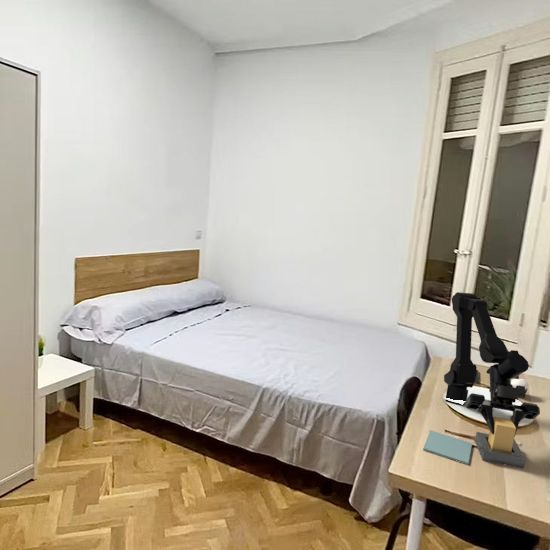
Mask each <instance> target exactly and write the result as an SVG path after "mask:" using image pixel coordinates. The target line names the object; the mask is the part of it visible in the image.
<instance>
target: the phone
mask: <svg viewBox="0 0 550 550" xmlns="http://www.w3.org/2000/svg"><path fill="white" fill-rule="evenodd" d="M476 375H477V377H476V380H475V382H474V384H477V385H478V384H479V383H480V378H479V377H480V376H479V369H476Z"/></svg>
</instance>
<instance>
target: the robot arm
mask: <svg viewBox="0 0 550 550" xmlns="http://www.w3.org/2000/svg"><path fill="white" fill-rule="evenodd" d="M451 305H452V311H453V312H454V314H455V316H456V336H455V337H456V339H455V340H456V341H455V345H456V347H455V357H454V359H453V361H452V362H451V364H450V368H449V371H447V372H446V373H445V374H444V376H443V382H444V383H445V384H446V385H447V389H446V394H445V397H446V398H450V399H453V400H463V401H466V403H465V408H466V409H471V410H474V411H475V410H476V411H477V413H478V414H480V415H481V416H482V418H483V419H484V421H485V422H486V424H487V426H488V427H487V428H488V429H489V432H490V431H491V433H492V434H494V420H493V417H494V409H496V410H497V409H498V410H503V411H509V412H512V415H511V416H510V420H512V422H513V424H514V425H515V427H516V432H515V436H516V434H517V431H518V429H519V428H518V427H519V424H520V423H521V421H522V420H524V419H525V420H526V419H527V420H535V419H536V418H537V417H538V416H539V415H540V414H541V410H540V407H539V405H538V404H536V403H531V402H524V401H523V403H522V404H521V405H517V404H515V403H516V400H519V398H521V399H524V398H526V394H527V392H526V391H525V386H516V388H514V387H513V386H512V385H511V379H512V380H513V379H514V378H515V377H517V376H519V377H520V375H522V374H523V373H525V372H526V371H528V370H529V366H530V365H529V361H528V360H527V359H526V357H524V356H523V355H522V354H520V353H519V351H518V350H512V349H511V350H510V351H509V350H508V348H507V345H506V344H505V342H504V341H503V340H502V339H501V338H500V337H499V336H498V335H497V333H496V329H495V327H494V324H493V320H492V318H491V316H490V312H489V309H488V302H487V301H486V300H484V299H483V298H482V297H478V296H477V295H476V294H475V293H471V292H455V294H454V295H452V296H451ZM473 320H474V324H475V327H476V329H477V333H478V336H479V339H480V344H479V346H478V351H479V356H480V359H481V360H482V362H484V363H486V364H493V365H490V366H489V368H488V369H487V370H486V374H489V391H488V392H489V393H490V399H486V396H485V395H484V394H480V393H479V394H478V393H470V394H469V389H468V388H473V386H474V385H475V383H474V382H475V380H476V377H477V375H476V370H478V369H477V365H476V364H474V363H473V360H472V359H471V357H472V326H473ZM513 403H514V404H513Z"/></svg>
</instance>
